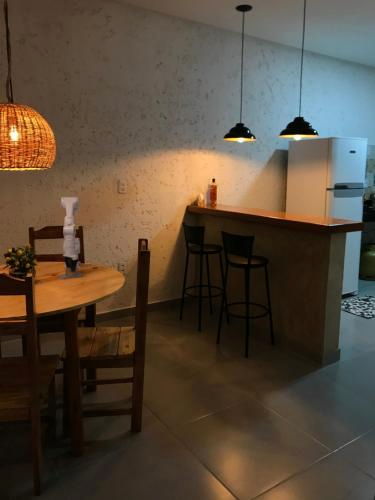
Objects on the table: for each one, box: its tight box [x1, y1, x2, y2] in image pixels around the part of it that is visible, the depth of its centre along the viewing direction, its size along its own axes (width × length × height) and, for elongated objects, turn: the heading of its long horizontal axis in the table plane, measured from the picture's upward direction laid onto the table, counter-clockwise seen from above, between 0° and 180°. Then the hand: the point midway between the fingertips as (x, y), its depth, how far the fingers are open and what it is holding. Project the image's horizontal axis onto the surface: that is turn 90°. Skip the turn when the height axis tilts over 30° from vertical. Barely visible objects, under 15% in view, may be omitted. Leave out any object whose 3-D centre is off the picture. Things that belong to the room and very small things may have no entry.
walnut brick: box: [64, 267, 76, 277], centre depth 233 cm, size 5×5×4 cm
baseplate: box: [58, 272, 84, 280], centre depth 234 cm, size 7×12×1 cm, turn 125°
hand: (70, 269), depth 233 cm, fingers open, 7 cm apart
